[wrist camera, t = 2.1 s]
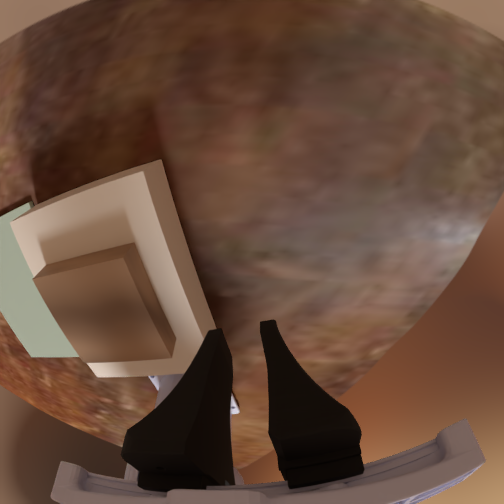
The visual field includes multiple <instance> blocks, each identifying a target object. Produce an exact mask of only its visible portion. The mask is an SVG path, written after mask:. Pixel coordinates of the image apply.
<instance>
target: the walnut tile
mask: <svg viewBox="0 0 504 504" xmlns="http://www.w3.org/2000/svg"><path fill="white" fill-rule="evenodd" d="M32 280H33V282H34V284H35V286H36V287H37V289H38V291H39V293H40V295H41V297H42V298H43V300H44V302H45V304H46V305H47V307H48V309H49V311H50V312H51V314H52V316H53V317H54V319H55V321H56V322H57V324H58V325H59V327H60V329H61V330H62V332H63V333H64V335H65V336H66V338H67V339H68V341H69V342H70V344H71V345H72V347H73V348H74V350H75V351H76V352H77V354H78V355H79V357H80V358H81V359H82V361H83V362H84V363H106V362H127V361H143V360H156V359H167V358H172V356H173V351H174V347H175V343H176V337H175V335H174V333H173V330H172V328H171V326H170V324H169V322H168V320H167V318H166V316H165V314H164V311H163V309H162V307H161V305H160V303H159V300H158V298H157V296H156V294H155V291H154V289H153V287H152V284H151V282H150V280H149V277H148V275H147V273H146V270H145V268H144V265H143V263H142V260H141V258H140V255H139V253H138V250H137V248H136V245H135V243H134V242H133V243H129V244H125V245H121V246H117V247H113V248H109V249H105V250H101V251H97V252H93V253H89V254H85V255H81V256H77V257H74V258H70V259H66V260H62V261H59V262H55V263H51V264H48V265H45V266H44V267H43V269H42V270H41V271H40V272H39V273H38V274H37V275H36V276H35V277H34V278H33V279H32Z"/></svg>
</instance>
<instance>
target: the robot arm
mask: <svg viewBox="0 0 504 504" xmlns="http://www.w3.org/2000/svg"><path fill="white" fill-rule="evenodd" d="M260 334H261V338H262V343H263V348H264V353H265V358H266V363H267V370H268V392H269V431H268V433H269V436H270V438H271V441H272V443H273V446H274V448H275V451H276V453H277V456H278V467H279V471H281V473H282V476H283V478H284V480H285V481H279V482H271V483H261V484H250V485H249V484H248V485H244V481H243V478H242V476H241V475H240V473H239V472H238V470H237V469H236V468H234V467H233V459H232V447H231V416H232V414H237V413H239V412H240V409H239V407H238V405H237V403H236V400H235V398H234V396H233V394H232V382H233V366H232V356H231V353H230V350H229V348H228V345H227V342H226V340H225V337H224V334H223V331H222V329H221V328H220V329H213V330H209V331H208V332H207V334H206V336H205V338H204V340H203V342H202V344H201V346H200V348H199V350H198V352H197V354H196V355H195V357H194V359H193V361H192V362H191V364H190V366H189V367H188V369H187V370H186V372H185V373H183V374H171V375H156V376H148V377H149V378H150V379H151V381H152V382H153V384H154V385H155V387H156V388H157V390H158V395H157V400H156V404H155V409H154V410H153V411H152V412H151V413H149V414H148V415H147V416H146V417H145V418H143V419H142V420H141V421H139V422H138V423H137V424H135V425H134V426H132V427H131V428H130V429H128V430H127V432H126V435H125V439H124V443H123V447H122V452H121V456H122V458H123V459H124V460H125V461H126V462H127V467H126V472H125V477H124V479H120V478H114V477H108V476H103V475H98V474H94V473H89V472H87V471H86V470H85V469H84V468H82V467H80V466H78V465H75V464H72V463H68V462H64V461H61V463H60V466H59V469H58V472H57V476H56V479H55V483H54V486H53V490H52V493H51V499H53V500H55V501H57V502H59V503H60V504H416V503H419V502H421V501H423V500H425V499H428V498H430V497H432V496H434V495H436V494H438V493H440V492H442V491H444V490H446V489H448V488H450V487H452V486H454V485H456V484H458V483H460V482H461V481H463V480H465V479H466V478H467V477H468V476H470V475H471V474H472V473H473V472H475V471H476V470H477V469H478V468H479V467H480V466H482V465H483V464H484V463H485V461H486V459H485V457H484V455H483V453H482V450H481V448H480V446H479V444H478V442H477V439H476V437H475V435H474V434H473V431H472V429H471V427H470V425H469V423H468V421H467V419H463V420H461V421H459V422H457V423H455V424H453V425H451V426H448V427H447V428H445V429H443V430H442V431H440V432H439V433H438V435H437V437H436V439H433V440H431V441H429V442H426V443H424V444H422V445H419V446H416V447H414V448H412V449H409V450H406V451H403V452H401V453H398V454H395V455H392V456H389V457H387V458H383V459H380V460H377V461H374V462H370V463H367V464H363V462H362V457H361V449H360V445H359V443H360V439H361V435H362V434H361V429H360V427H359V425H358V423H357V421H356V419H355V418H354V416H353V415H352V414H351V412H350V411H349V410H348V409H347V408H346V407H345V406H343V405H342V404H340V403H339V402H338V401H336V400H335V399H334V398H332V397H331V396H330V395H329V394H327V393H326V392H325V391H324V390H323V389H322V388H321V387H320V386H319V385H318V384H316V383H315V382H314V381H313V380H312V379H311V377H310V376H309V375H308V374H307V373H306V372H305V371H304V370H303V368H302V367H301V366H300V365H299V363H298V362H297V361H296V359H295V358H294V357H293V355H292V354H291V352H290V351H289V349H288V347H287V346H286V344H285V342H284V340H283V339H282V337H281V335H280V332H279V330H278V327H277V324H276V321H275V320H268V321H262V322H260Z"/></svg>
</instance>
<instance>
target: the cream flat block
mask: <svg viewBox="0 0 504 504" xmlns="http://www.w3.org/2000/svg"><path fill="white" fill-rule="evenodd" d="M10 225H11V227H12V230H13V232H14V235H15V237H16V240H17V242H18V244H19V247H20V249H21V251H22V253H23V255H24V258H25V260H26V262H27V264H28V266H29V268H30V270H31V272H32V274H33V276H34V277H35V276H36V275H37V274H38V273H39V272H40V271H41V270H42V269H43V267H44V266H45V265H48V264H51V263H55V262H59V261H62V260H66V259H70V258H74V257H77V256H81V255H85V254H89V253H93V252H97V251H101V250H105V249H109V248H113V247H117V246H121V245H125V244H129V243H133V242H134V243H135V245H136V248H137V250H138V253H139V255H140V258H141V260H142V263H143V265H144V268H145V270H146V273H147V275H148V277H149V280H150V282H151V284H152V287H153V289H154V291H155V294H156V296H157V298H158V300H159V303H160V305H161V307H162V309H163V311H164V314H165V316H166V318H167V320H168V322H169V324H170V326H171V328H172V330H173V333H174V335H175V337H176V343H175V347H174V351H173V356H172V358H167V359H156V360H143V361H127V362H106V363H87V364H88V365H89V367H90V368H91V369H92V371H93V372H94V373H95V375H96V376H97V377H135V376H156V375H171V374H183V373H185V372H186V370H187V369H188V367H189V366H190V364H191V362H192V361H193V359H194V357H195V355H196V354H197V352H198V350H199V348H200V346H201V344H202V342H203V340H204V338H205V336H206V334H207V332H208V331H209V330H213V329H217V328H216V326H215V323H214V320H213V318H212V315H211V312H210V309H209V307H208V304H207V301H206V298H205V296H204V293H203V290H202V287H201V284H200V281H199V278H198V276H197V273H196V270H195V267H194V264H193V261H192V258H191V255H190V252H189V249H188V246H187V243H186V240H185V236H184V233H183V230H182V227H181V224H180V221H179V217H178V214H177V211H176V208H175V204H174V201H173V198H172V194H171V191H170V188H169V184H168V181H167V177H166V174H165V170H164V167H163V163H162V160H161V159H160V160H156V161H153V162H150V163H147V164H143V165H140V166H137V167H134V168H131V169H128V170H125V171H122V172H119V173H116V174H113V175H110V176H107V177H104V178H102V179H99V180H96V181H94V182H91V183H88V184H86V185H83V186H80V187H78V188H75V189H73V190H70V191H68V192H65V193H63V194H60V195H58V196H56V197H53V198H51V199H49V200H46V201H44V202H42V203H40V204H37V205H36V206H34V207H33V208H31V209H29V210H28V211H26V212H25V213H23V214H22V215H20V216H19V217H17V218H16V219H14V220H13V221H11V222H10Z"/></svg>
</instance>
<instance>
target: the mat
mask: <svg viewBox="0 0 504 504" xmlns="http://www.w3.org/2000/svg"><path fill="white" fill-rule="evenodd" d="M33 207H34V205H33V202H32V201H30V202H28V203H26V204H24V205H22V206H20V207H18V208H16V209H14V210H12V211H10V212H8V213H6V214H4V215H2V216H1V217H0V311H1V312H2V314H3V316H4V317H5V319H6V320H7V322H8V324H9V325H10V327H11V328H12V330H13V331H14V333H15V334H16V336H17V337H18V339H19V340H20V342H21V343H22V345H23V346H24V347H25V349H26V350H27V352H28V353H29V354H30V356H31V357H79V355H78V354H77V352H76V351H75V350H74V348H73V347H72V345H71V344H70V342H69V341H68V339H67V338H66V336H65V335H64V333H63V332H62V330H61V329H60V327H59V325H58V324H57V322H56V321H55V319H54V317H53V316H52V314H51V312H50V311H49V309H48V307H47V305H46V304H45V302H44V300H43V298H42V297H41V295H40V293H39V291H38V289H37V287H36V286H35V284H34V282H33V280H32V279H33V278H34V276H33V274H32V272H31V270H30V268H29V266H28V264H27V262H26V260H25V258H24V255H23V253H22V251H21V249H20V247H19V244H18V242H17V240H16V237H15V235H14V232H13V230H12V227H11V225H10V222H11V221H13V220H14V219H16V218H17V217H19V216H20V215H22V214H23V213H25V212H26V211H28V210H29V209H31V208H33Z"/></svg>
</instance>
